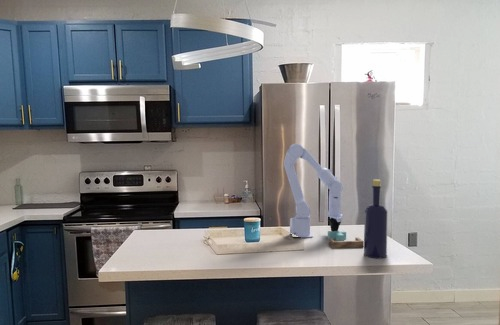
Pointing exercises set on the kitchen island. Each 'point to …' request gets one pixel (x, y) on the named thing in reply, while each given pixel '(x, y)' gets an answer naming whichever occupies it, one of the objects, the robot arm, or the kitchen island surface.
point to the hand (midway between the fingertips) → (334, 233)
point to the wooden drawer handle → (346, 243)
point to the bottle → (375, 226)
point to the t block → (337, 235)
